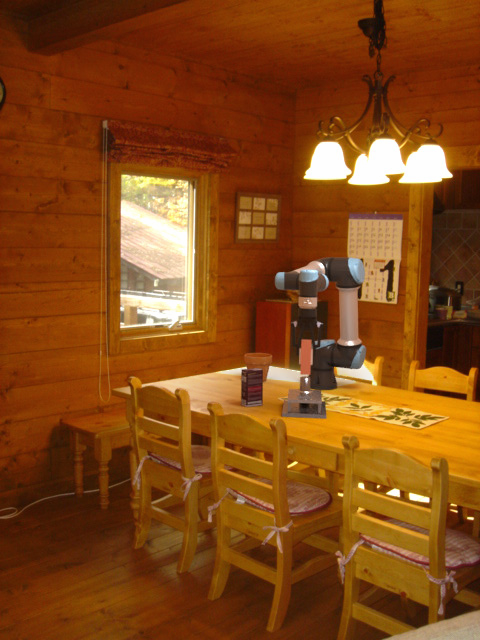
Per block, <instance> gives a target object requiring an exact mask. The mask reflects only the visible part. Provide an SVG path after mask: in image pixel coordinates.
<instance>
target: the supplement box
mask: <svg viewBox="0 0 480 640" xmlns="http://www.w3.org/2000/svg"><path fill="white" fill-rule="evenodd" d="M240 373H241V375H240V376H241V378H240V379H241V380H240V382H241V383H240V385H241V386H240V387H241V389H240V405H241V406H243V407H245V408H249V407H257V406H263V401H264V400H263V395H264V393H263V391H264V390H263V389H264V381H263V369H260V368H252V369H247V368H243V369H242V368H241V372H240Z"/></svg>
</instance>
